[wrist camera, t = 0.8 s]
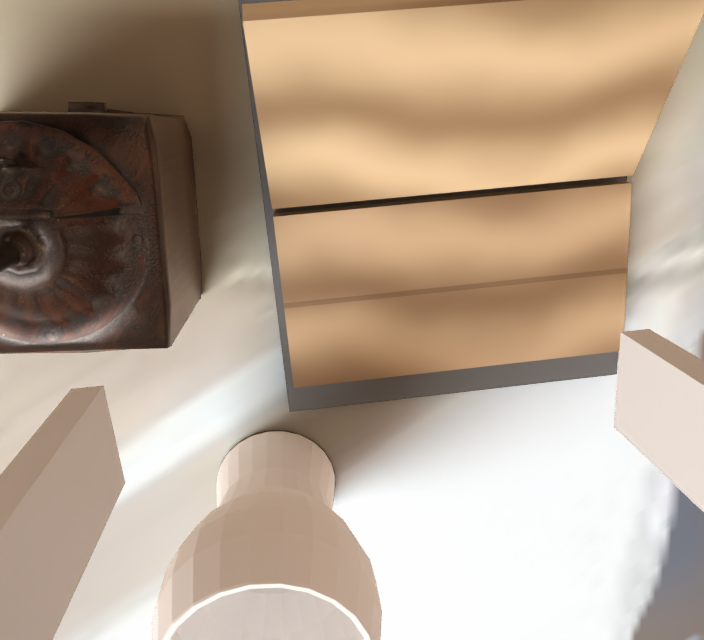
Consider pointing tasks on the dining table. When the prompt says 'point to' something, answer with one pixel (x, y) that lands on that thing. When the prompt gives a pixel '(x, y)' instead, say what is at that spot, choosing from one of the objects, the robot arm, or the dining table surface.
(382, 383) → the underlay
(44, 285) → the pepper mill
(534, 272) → the plank
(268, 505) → the cup
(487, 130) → the plank
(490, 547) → the dining table surface
